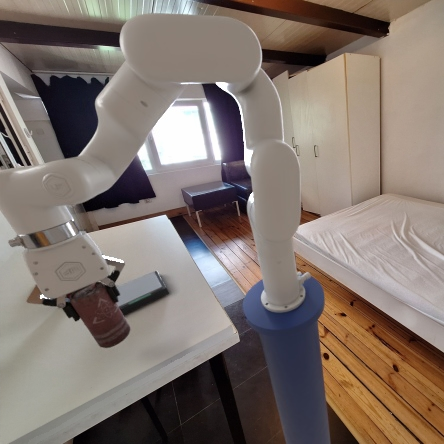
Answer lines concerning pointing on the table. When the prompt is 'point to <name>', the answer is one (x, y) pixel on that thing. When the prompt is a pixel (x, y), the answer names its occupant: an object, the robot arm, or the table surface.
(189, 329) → the table surface
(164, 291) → the scale
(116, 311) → the can
